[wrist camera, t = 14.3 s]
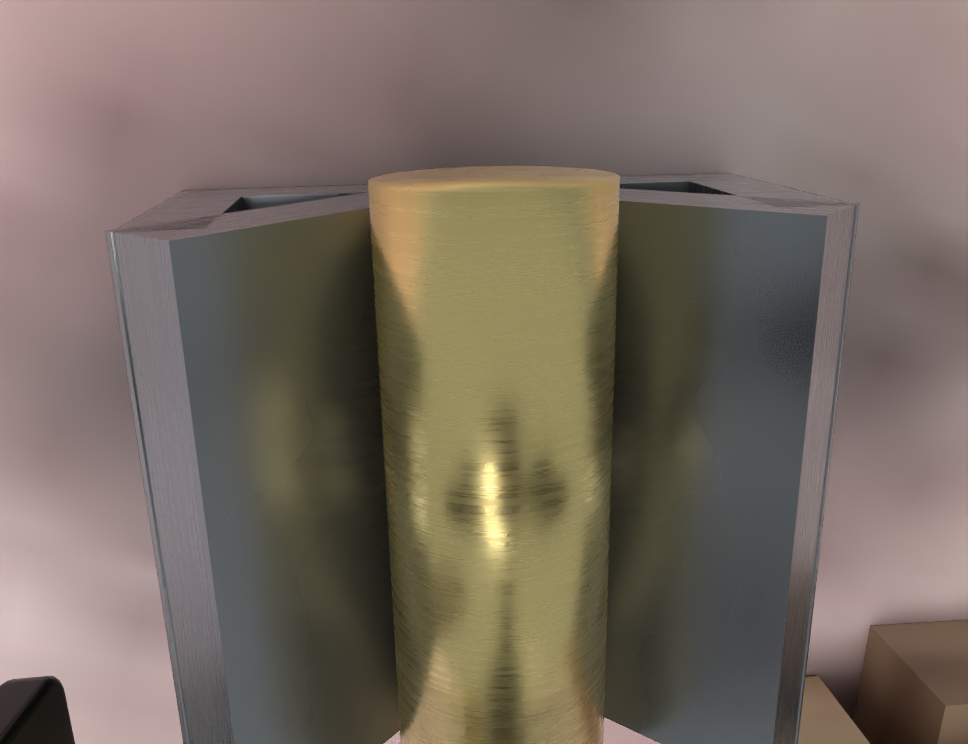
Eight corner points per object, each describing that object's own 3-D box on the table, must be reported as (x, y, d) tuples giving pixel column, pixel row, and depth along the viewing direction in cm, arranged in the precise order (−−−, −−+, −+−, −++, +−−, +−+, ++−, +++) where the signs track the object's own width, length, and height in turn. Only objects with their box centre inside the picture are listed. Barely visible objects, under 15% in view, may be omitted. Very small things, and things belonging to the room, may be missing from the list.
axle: (569, 702, 15) (630, 843, 12) (394, 728, 15) (415, 881, 12) (577, 162, 12) (658, 185, 9) (359, 171, 12) (378, 197, 9)
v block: (703, 599, 17) (825, 786, 12) (233, 641, 16) (181, 862, 11) (732, 172, 14) (900, 212, 10) (176, 191, 13) (82, 244, 9)
